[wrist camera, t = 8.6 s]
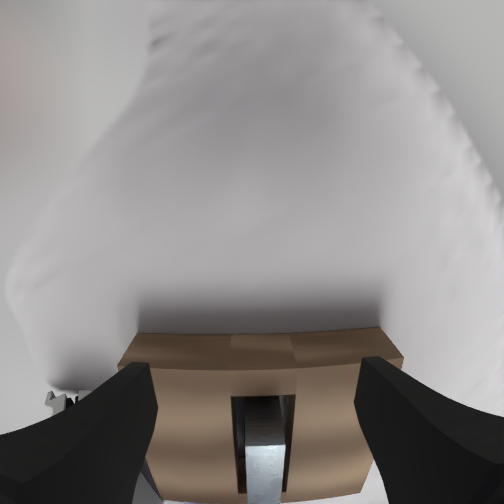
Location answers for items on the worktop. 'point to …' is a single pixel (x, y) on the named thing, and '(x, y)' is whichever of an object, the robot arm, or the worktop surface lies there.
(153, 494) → the grey arched slab
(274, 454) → the grey flat-faced block
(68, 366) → the worktop surface
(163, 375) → the slotted tan panel
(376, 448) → the robot arm
